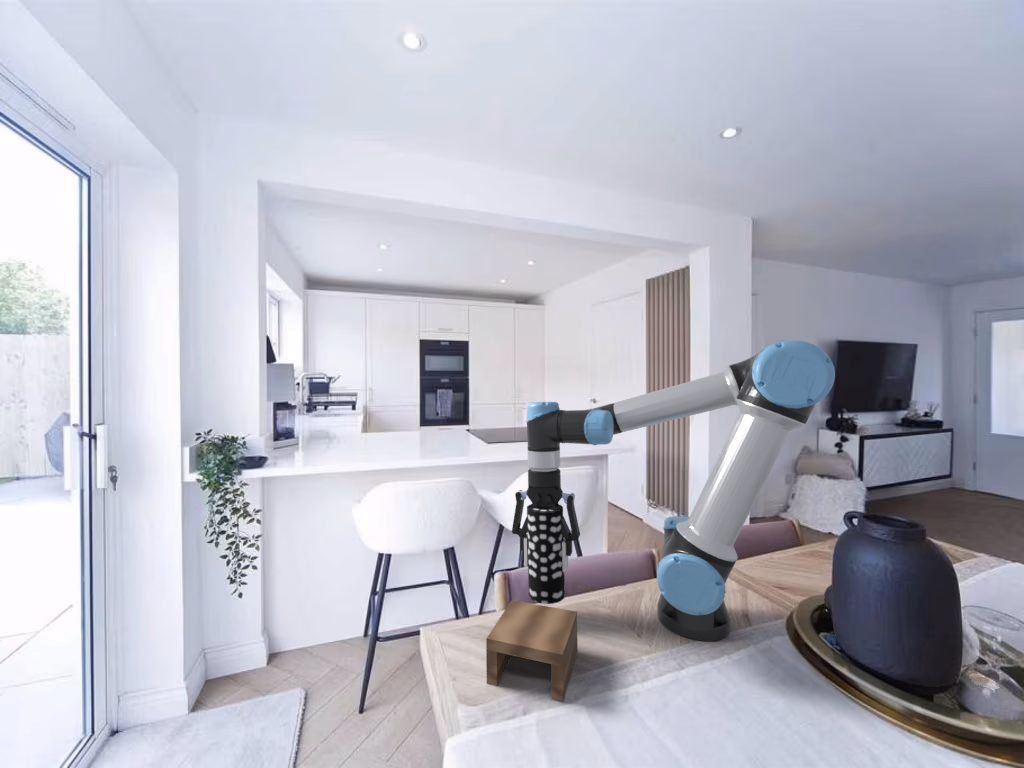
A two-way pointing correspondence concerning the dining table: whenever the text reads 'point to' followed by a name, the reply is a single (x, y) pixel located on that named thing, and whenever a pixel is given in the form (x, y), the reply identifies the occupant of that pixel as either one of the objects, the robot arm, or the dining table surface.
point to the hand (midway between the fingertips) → (546, 566)
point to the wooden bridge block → (534, 642)
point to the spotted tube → (545, 555)
